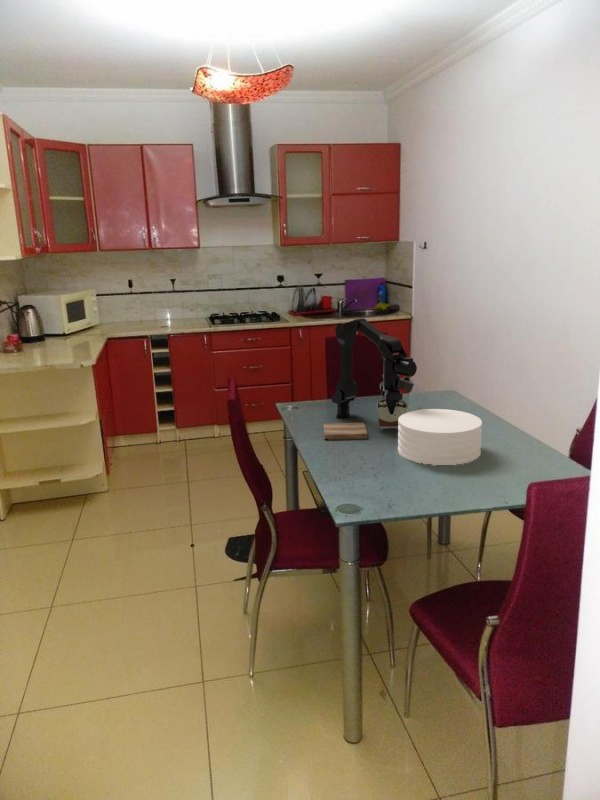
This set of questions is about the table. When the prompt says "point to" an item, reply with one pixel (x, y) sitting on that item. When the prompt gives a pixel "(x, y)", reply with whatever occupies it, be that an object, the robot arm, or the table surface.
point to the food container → (384, 415)
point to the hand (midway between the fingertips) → (390, 411)
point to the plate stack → (439, 436)
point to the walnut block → (345, 431)
